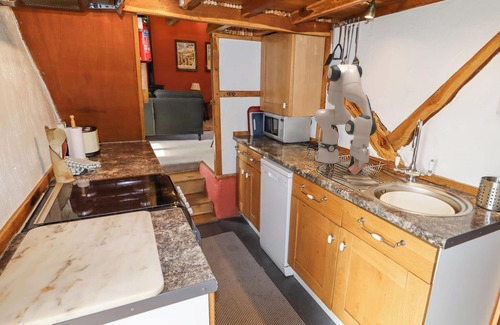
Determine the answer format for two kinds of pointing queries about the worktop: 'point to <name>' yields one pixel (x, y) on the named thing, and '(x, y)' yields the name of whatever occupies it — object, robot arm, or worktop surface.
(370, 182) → the ash board
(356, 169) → the terracotta block
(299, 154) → the worktop surface
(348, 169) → the door stopper
